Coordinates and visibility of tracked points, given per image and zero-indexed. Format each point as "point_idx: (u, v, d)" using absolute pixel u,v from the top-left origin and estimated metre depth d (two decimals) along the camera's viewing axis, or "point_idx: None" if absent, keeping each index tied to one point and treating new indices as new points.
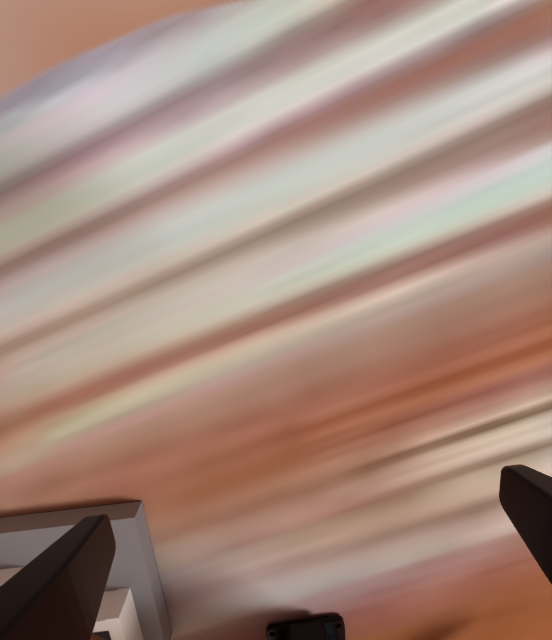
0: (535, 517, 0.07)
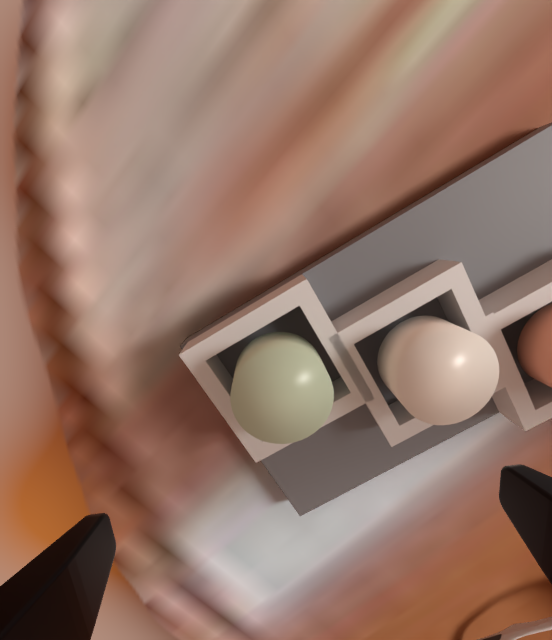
0: (535, 517, 0.07)
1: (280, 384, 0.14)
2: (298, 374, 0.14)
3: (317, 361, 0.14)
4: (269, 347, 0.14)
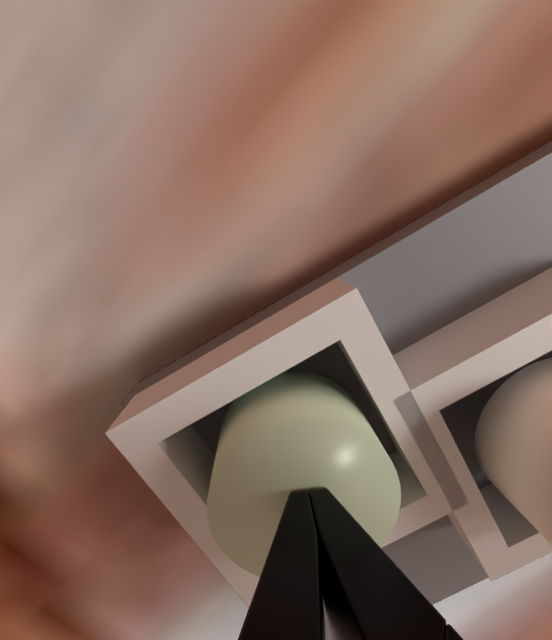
0: None
1: (302, 482, 0.07)
2: (336, 465, 0.07)
3: (373, 440, 0.07)
4: (281, 414, 0.07)
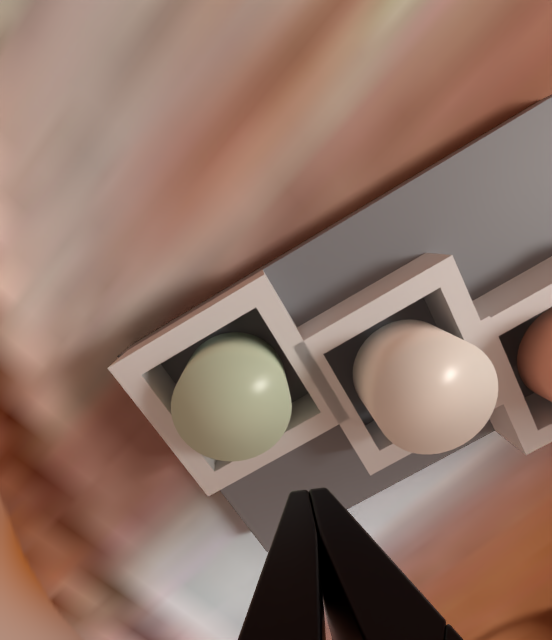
0: None
1: (229, 392, 0.12)
2: (249, 381, 0.12)
3: (271, 366, 0.12)
4: (216, 351, 0.12)
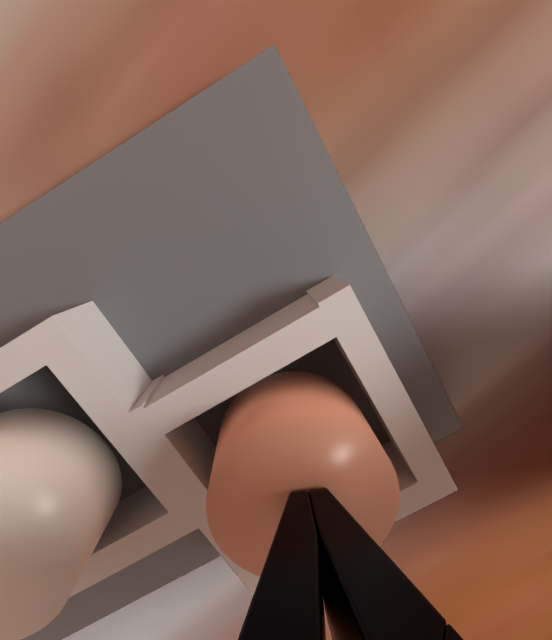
0: None
1: None
2: None
3: None
4: None
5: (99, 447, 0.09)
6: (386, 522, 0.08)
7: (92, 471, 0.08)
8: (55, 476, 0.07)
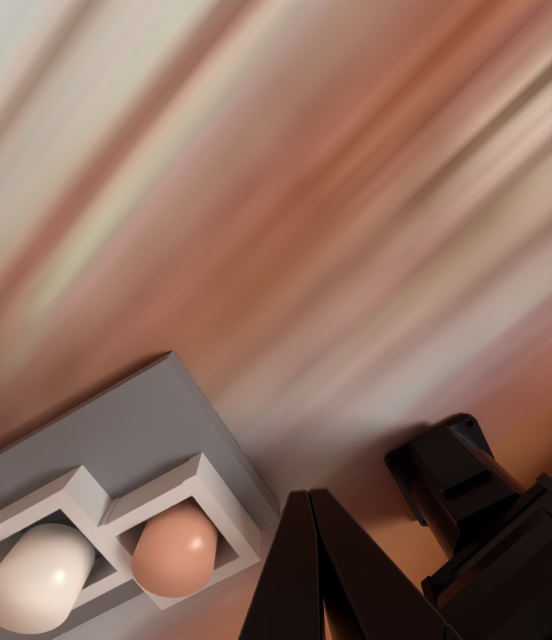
0: None
1: None
2: None
3: None
4: None
5: (84, 541, 0.19)
6: (208, 572, 0.18)
7: (80, 555, 0.18)
8: (64, 562, 0.17)
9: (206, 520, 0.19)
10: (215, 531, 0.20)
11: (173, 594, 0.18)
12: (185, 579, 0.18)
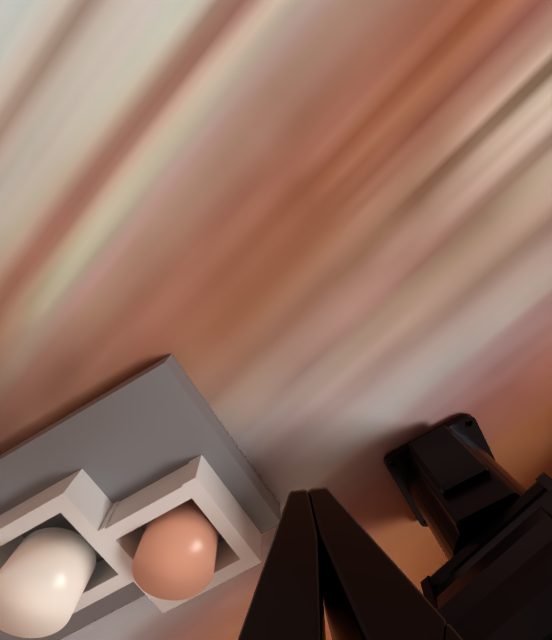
0: None
1: None
2: None
3: None
4: None
5: (84, 545, 0.19)
6: (209, 575, 0.18)
7: (81, 559, 0.18)
8: (64, 566, 0.17)
9: (206, 523, 0.19)
10: (215, 533, 0.20)
11: (174, 597, 0.19)
12: (186, 582, 0.18)
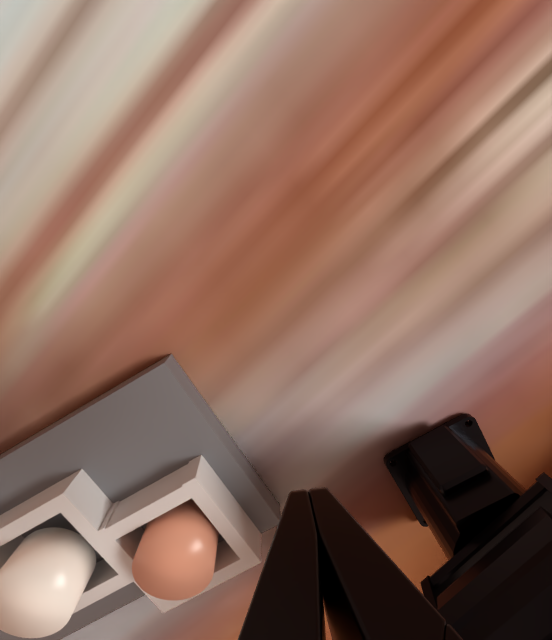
0: None
1: None
2: None
3: None
4: None
5: (84, 545, 0.19)
6: (209, 575, 0.18)
7: (81, 559, 0.18)
8: (64, 566, 0.17)
9: (206, 523, 0.19)
10: (215, 533, 0.20)
11: (174, 597, 0.19)
12: (186, 582, 0.18)
